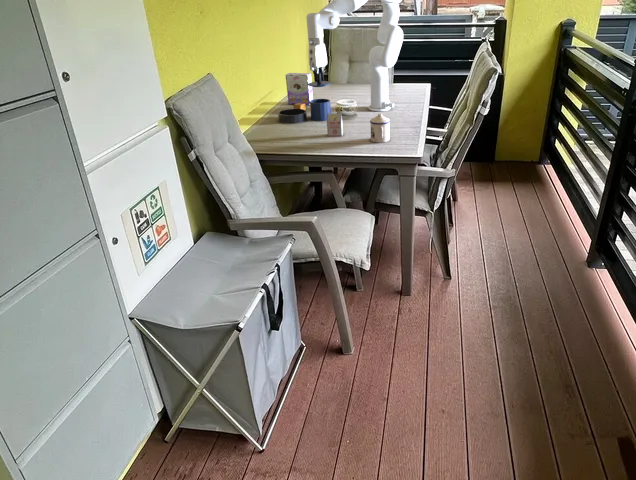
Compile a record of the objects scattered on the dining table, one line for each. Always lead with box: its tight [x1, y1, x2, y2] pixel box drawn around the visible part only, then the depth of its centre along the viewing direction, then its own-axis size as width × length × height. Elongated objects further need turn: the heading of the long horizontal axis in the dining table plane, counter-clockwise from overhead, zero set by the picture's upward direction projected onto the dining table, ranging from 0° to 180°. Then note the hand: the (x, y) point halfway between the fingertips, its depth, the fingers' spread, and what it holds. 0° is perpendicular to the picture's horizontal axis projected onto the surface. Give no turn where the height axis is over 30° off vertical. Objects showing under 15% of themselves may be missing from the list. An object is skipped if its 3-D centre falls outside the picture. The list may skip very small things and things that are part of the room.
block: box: [293, 103, 307, 111], centre depth 292 cm, size 4×4×4 cm
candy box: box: [285, 72, 314, 106], centre depth 306 cm, size 14×6×16 cm, turn 71°
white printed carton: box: [326, 113, 344, 137], centre depth 251 cm, size 4×7×10 cm, turn 84°
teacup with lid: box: [369, 113, 391, 144], centre depth 241 cm, size 12×9×12 cm
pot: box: [309, 98, 332, 122], centre depth 279 cm, size 10×10×9 cm
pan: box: [277, 108, 308, 124], centre depth 279 cm, size 15×15×4 cm
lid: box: [308, 72, 331, 88], centre depth 271 cm, size 11×11×6 cm
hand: (319, 81), depth 271 cm, fingers closed on lid, 2 cm apart
